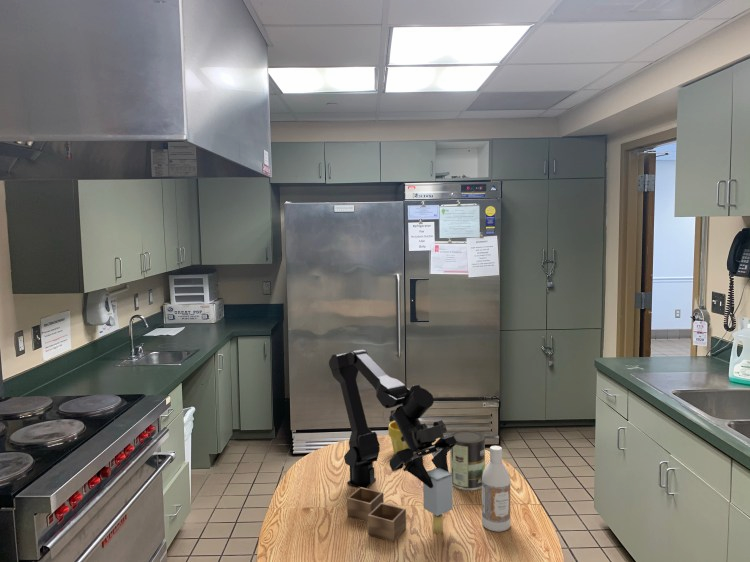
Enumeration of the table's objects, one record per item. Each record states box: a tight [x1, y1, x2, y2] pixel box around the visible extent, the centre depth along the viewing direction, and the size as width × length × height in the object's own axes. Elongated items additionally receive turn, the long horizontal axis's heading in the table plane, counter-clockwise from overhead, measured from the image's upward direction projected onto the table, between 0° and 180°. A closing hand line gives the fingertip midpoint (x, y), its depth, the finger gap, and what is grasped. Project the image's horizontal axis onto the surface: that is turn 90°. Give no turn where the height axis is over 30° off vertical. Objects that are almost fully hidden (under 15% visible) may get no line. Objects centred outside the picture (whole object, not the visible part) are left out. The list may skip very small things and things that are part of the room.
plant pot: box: [387, 421, 409, 455], centre depth 178 cm, size 10×10×10 cm
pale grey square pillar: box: [422, 467, 454, 516], centre depth 130 cm, size 5×5×9 cm
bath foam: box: [481, 445, 511, 533], centre depth 132 cm, size 7×7×20 cm
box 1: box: [346, 487, 385, 523], centre depth 139 cm, size 7×7×5 cm
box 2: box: [367, 503, 407, 543], centre depth 131 cm, size 7×7×5 cm
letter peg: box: [432, 513, 444, 534], centre depth 131 cm, size 2×2×4 cm
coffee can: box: [449, 429, 486, 491], centre depth 156 cm, size 10×10×14 cm
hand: (440, 484), depth 129 cm, fingers closed on pale grey square pillar, 5 cm apart
